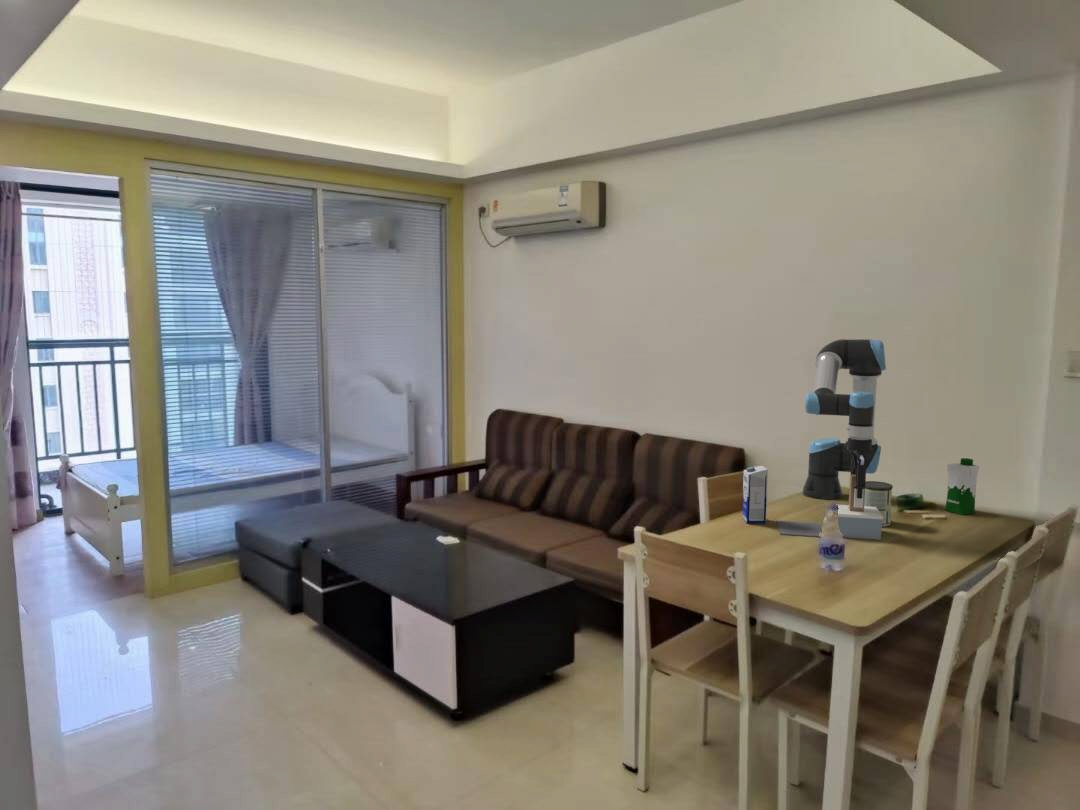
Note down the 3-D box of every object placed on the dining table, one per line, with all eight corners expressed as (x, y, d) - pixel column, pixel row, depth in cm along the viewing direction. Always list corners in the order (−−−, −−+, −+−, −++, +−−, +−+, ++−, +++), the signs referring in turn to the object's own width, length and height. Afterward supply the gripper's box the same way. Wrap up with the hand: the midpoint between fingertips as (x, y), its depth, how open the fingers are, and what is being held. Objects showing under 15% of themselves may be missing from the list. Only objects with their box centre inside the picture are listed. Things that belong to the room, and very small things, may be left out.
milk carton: (765, 523, 261) (767, 468, 259) (746, 523, 261) (748, 468, 259) (760, 518, 268) (762, 464, 266) (741, 518, 268) (743, 464, 266)
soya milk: (978, 513, 274) (982, 460, 272) (962, 516, 271) (966, 462, 268) (956, 507, 282) (960, 456, 280) (940, 510, 279) (944, 458, 276)
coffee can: (854, 518, 268) (856, 480, 266) (884, 519, 267) (886, 481, 265) (864, 526, 258) (866, 487, 256) (894, 527, 257) (897, 487, 255)
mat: (776, 521, 264) (776, 520, 264) (817, 524, 260) (817, 523, 260) (780, 534, 248) (780, 533, 248) (823, 537, 245) (823, 536, 245)
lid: (830, 511, 257) (832, 470, 255) (875, 514, 254) (877, 472, 252) (835, 521, 245) (837, 478, 243) (882, 524, 242) (885, 480, 240)
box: (830, 526, 258) (831, 507, 257) (873, 529, 254) (874, 509, 253) (835, 536, 246) (836, 516, 245) (880, 539, 243) (881, 519, 242)
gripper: (843, 432, 256) (840, 496, 259) (852, 442, 237) (849, 511, 240) (866, 433, 255) (862, 498, 258) (877, 443, 236) (874, 512, 239)
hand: (856, 504), depth 249 cm, fingers open, 7 cm apart
